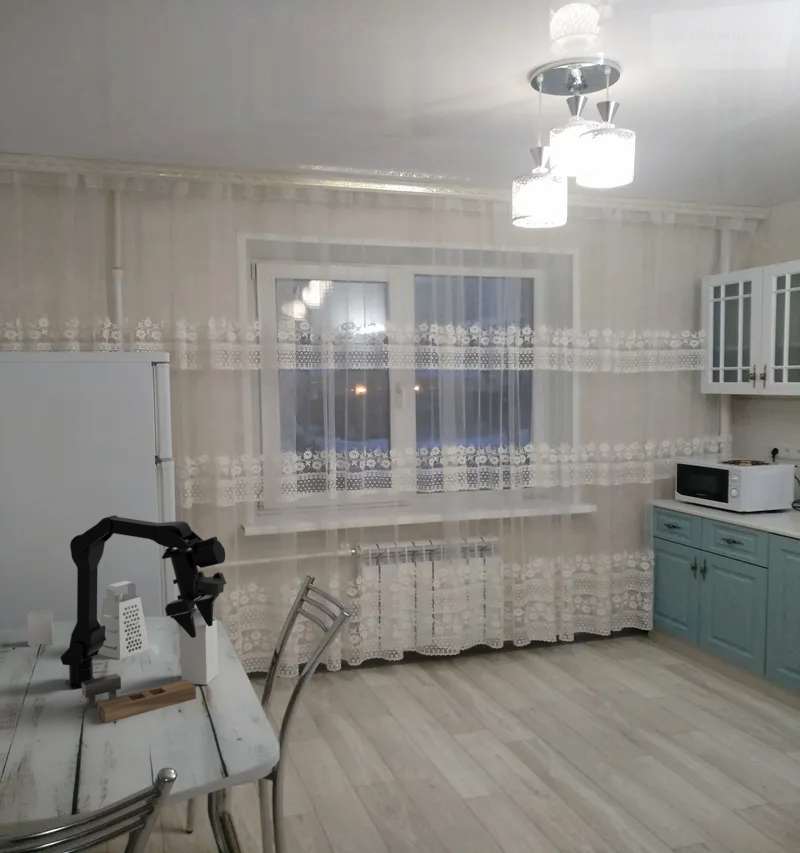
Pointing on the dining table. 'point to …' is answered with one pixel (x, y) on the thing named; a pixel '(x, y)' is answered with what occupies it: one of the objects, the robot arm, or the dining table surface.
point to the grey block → (100, 688)
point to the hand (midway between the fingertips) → (202, 631)
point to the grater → (123, 623)
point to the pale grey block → (40, 627)
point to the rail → (145, 700)
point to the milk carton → (199, 652)
